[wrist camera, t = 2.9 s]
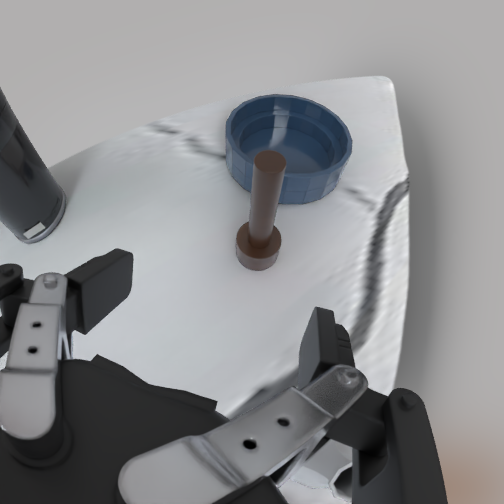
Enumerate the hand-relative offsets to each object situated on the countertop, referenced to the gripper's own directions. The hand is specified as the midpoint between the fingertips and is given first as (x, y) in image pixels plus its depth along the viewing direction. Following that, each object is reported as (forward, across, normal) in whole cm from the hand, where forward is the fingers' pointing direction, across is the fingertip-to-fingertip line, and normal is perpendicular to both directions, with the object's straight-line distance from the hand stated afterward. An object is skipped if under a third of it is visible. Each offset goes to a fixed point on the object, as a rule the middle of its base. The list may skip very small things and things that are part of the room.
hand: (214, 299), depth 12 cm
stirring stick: (+20, 0, +4) cm, 20 cm away
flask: (+6, -11, +18) cm, 22 cm away
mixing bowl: (+29, 0, -6) cm, 30 cm away
